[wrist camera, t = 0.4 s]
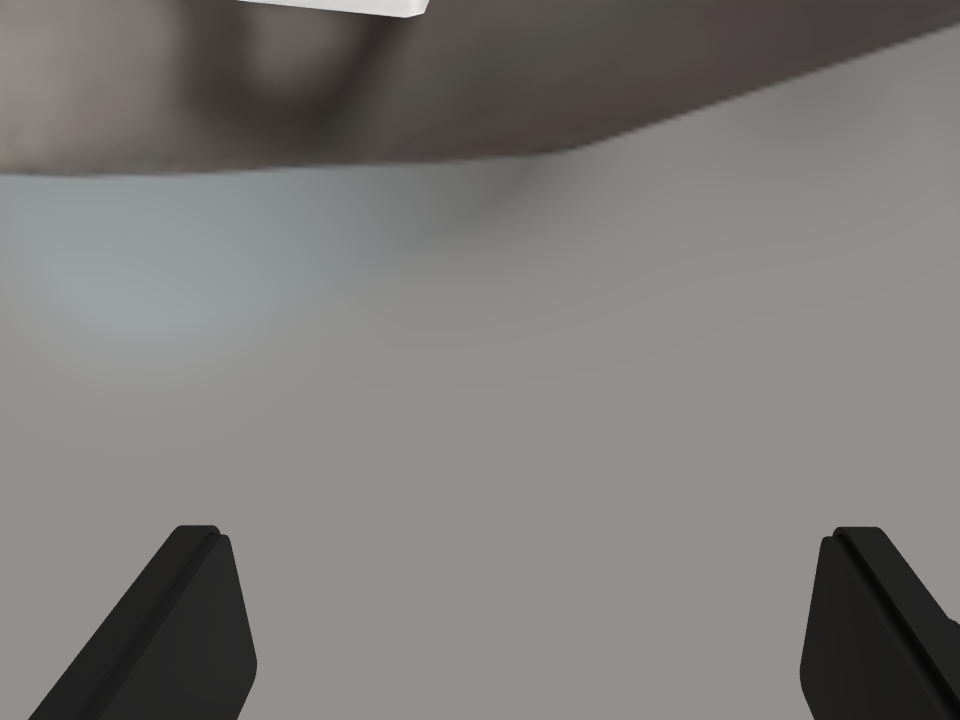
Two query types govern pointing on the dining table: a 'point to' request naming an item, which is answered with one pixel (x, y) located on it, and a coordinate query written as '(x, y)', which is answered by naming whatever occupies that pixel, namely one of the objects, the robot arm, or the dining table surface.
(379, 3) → the mounting bracket
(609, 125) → the dining table surface
